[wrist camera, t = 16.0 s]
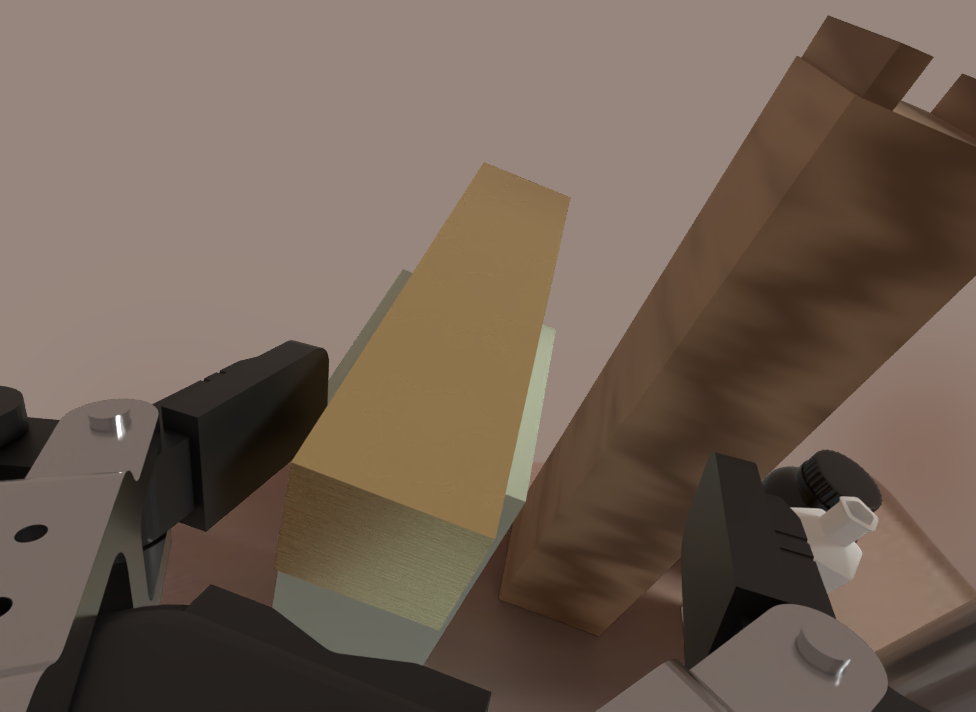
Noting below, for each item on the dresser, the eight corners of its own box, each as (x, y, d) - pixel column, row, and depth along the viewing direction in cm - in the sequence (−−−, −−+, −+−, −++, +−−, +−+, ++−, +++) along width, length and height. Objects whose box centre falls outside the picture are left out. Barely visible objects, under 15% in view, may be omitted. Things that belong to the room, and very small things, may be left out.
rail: (536, 273, 23) (570, 197, 21) (439, 630, 11) (495, 539, 9) (457, 241, 23) (483, 162, 21) (274, 569, 11) (291, 462, 9)
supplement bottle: (687, 551, 44) (785, 457, 37) (725, 513, 48) (818, 423, 41) (761, 625, 41) (883, 540, 34) (794, 578, 45) (908, 493, 38)
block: (416, 601, 34) (555, 329, 21) (369, 750, 28) (525, 501, 14) (323, 567, 34) (402, 268, 20) (254, 710, 28) (304, 417, 14)
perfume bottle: (692, 669, 37) (857, 553, 27) (666, 602, 40) (806, 478, 31) (747, 665, 38) (921, 553, 29) (718, 601, 41) (866, 482, 32)
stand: (602, 544, 42) (990, 85, 21) (598, 636, 36) (1119, 137, 16) (515, 511, 41) (823, 13, 21) (498, 598, 36) (894, 39, 15)
